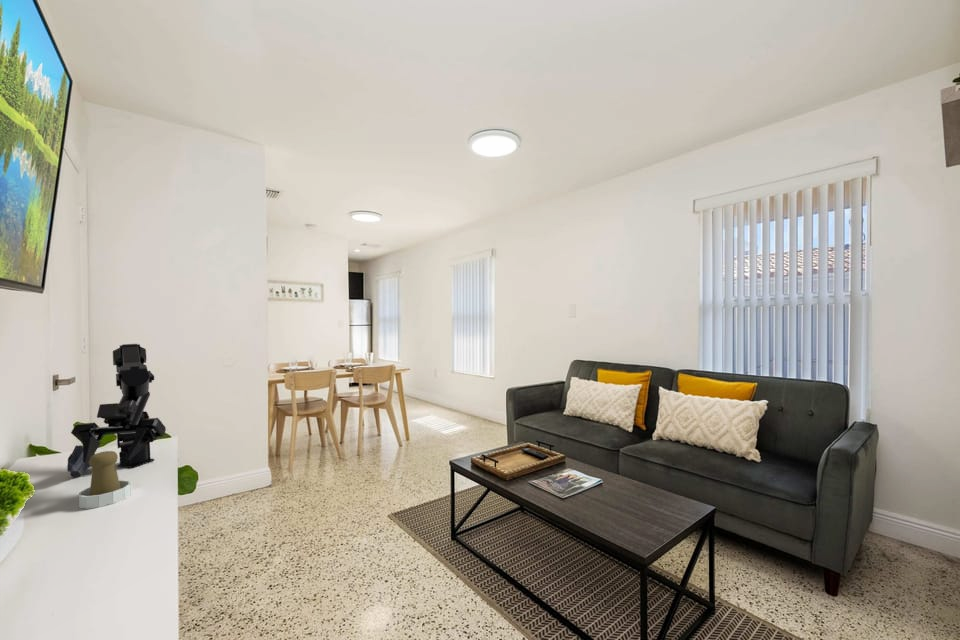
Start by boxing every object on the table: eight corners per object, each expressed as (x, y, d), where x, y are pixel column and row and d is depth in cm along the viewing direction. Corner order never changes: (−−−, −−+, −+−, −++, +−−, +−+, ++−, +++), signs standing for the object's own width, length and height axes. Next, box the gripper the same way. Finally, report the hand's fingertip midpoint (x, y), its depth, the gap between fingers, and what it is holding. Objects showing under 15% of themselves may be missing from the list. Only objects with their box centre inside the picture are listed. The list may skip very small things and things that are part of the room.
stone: (68, 472, 121) (66, 438, 121) (96, 466, 126) (95, 433, 125) (67, 485, 111) (65, 448, 111) (98, 478, 116) (96, 443, 116)
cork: (84, 504, 98) (82, 458, 97) (93, 494, 103) (91, 451, 103) (117, 498, 101) (115, 453, 100) (124, 489, 106) (122, 446, 106)
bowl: (114, 489, 108) (114, 478, 108) (140, 493, 105) (139, 482, 105) (69, 506, 99) (69, 494, 99) (96, 510, 96) (95, 498, 96)
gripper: (74, 392, 105) (41, 449, 95) (158, 387, 110) (135, 441, 99) (97, 415, 113) (69, 470, 103) (174, 410, 117) (155, 462, 107)
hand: (106, 460), depth 103 cm, fingers open, 9 cm apart
